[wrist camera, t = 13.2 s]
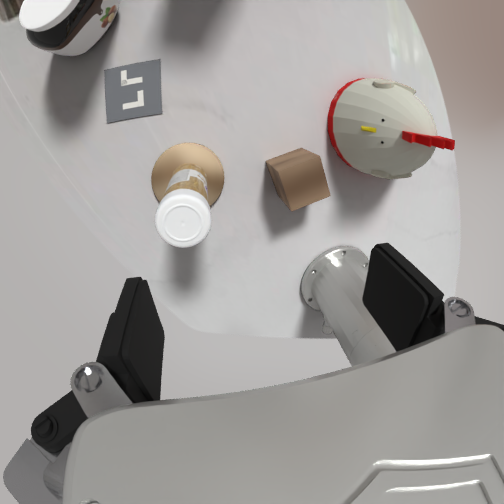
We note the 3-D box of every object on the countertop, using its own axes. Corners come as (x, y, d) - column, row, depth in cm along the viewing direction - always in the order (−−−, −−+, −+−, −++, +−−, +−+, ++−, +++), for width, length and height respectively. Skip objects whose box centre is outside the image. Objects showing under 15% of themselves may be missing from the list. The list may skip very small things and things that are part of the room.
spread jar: (88, 65, 23) (43, 52, 13) (32, 45, 18) (-18, 36, 8) (143, -11, 19) (122, -53, 9) (81, -26, 14) (47, -58, 4)
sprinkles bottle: (212, 189, 33) (220, 237, 22) (179, 203, 33) (169, 258, 22) (199, 156, 31) (198, 185, 20) (164, 171, 31) (143, 210, 20)
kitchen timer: (326, 72, 29) (399, 62, 16) (406, 86, 30) (484, 94, 18) (327, 172, 36) (392, 214, 23) (403, 171, 37) (472, 207, 25)
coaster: (225, 208, 36) (225, 210, 35) (157, 215, 34) (156, 217, 34) (222, 139, 31) (222, 140, 31) (148, 147, 30) (147, 148, 29)
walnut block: (311, 181, 36) (330, 195, 31) (277, 195, 36) (291, 211, 31) (301, 147, 33) (319, 156, 28) (265, 161, 34) (278, 171, 28)
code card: (162, 113, 28) (162, 113, 28) (107, 123, 27) (107, 123, 27) (160, 59, 25) (160, 59, 25) (104, 70, 24) (104, 70, 24)
